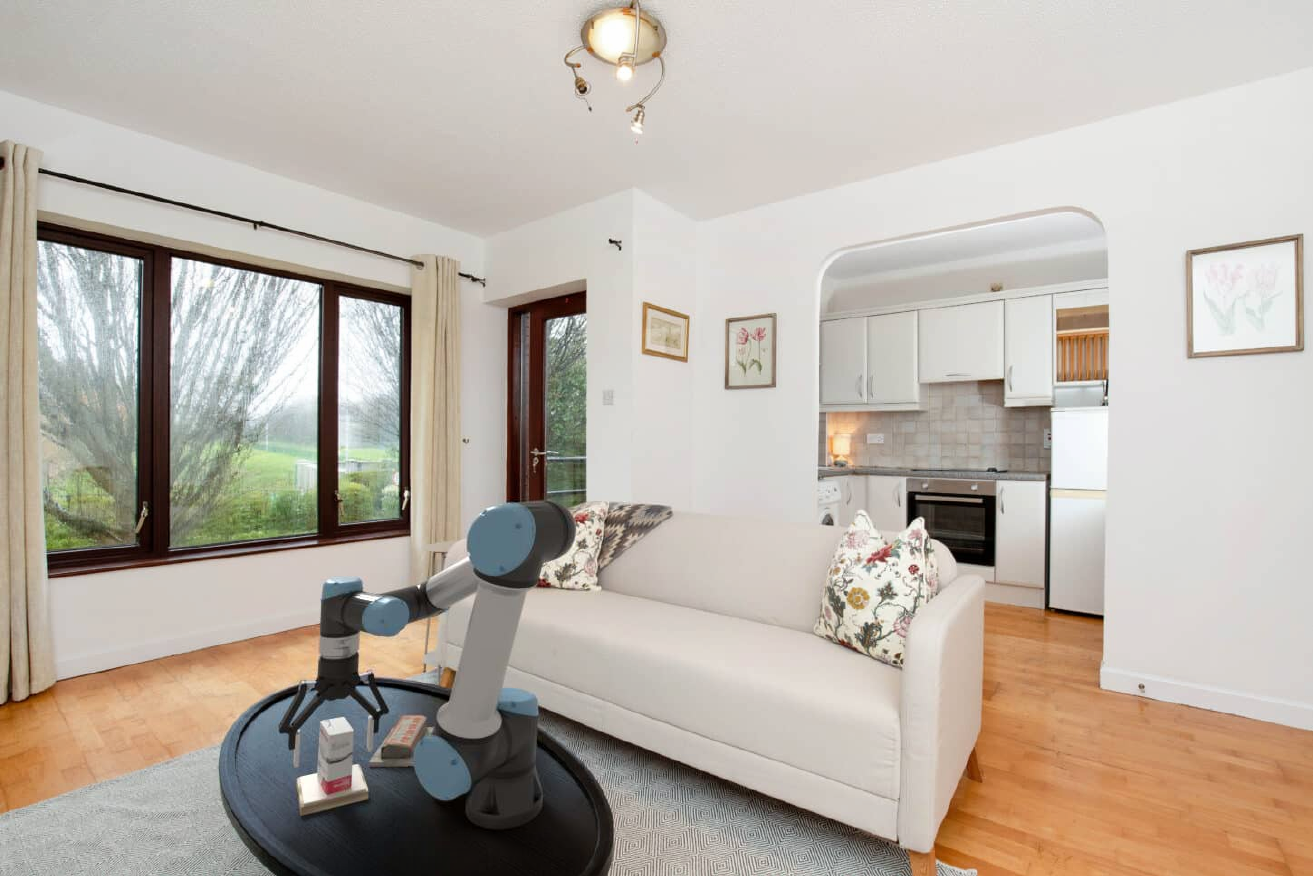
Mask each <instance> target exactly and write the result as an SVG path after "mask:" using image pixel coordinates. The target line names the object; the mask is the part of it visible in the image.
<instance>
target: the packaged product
mask: <svg viewBox="0 0 1313 876" xmlns="http://www.w3.org/2000/svg"><path fill="white" fill-rule="evenodd" d="M427 724H428V718H427V716H425V715H422V714H416V715H415V714H409V715H407V714H406V715H402V716H401V717H400V718H399V720H398V721H397V723H396V724H395V725H394V726H393V727H392V728H391V730H390V732H388V734H387V736H385V738H384V740H383V741H382V743H381V744H380V746H378V749H377V750H376V751H375V753H373V755H372V757H371V758H370V759H369V761H368V763H369V767H371V768H372V767H373V768H375V767H376V768H377V767H378V768H380V767H381V768H385V767H387V768H389V767H390V768H392V767H393V768H394V767H408V766H411V767H414V762H413V755H414V750H415V747H416V745H417V743H418V742H419V741H420V740H421V739H422V738H423V737H424V736H426V735H430V734H431V733H432V731H433V728H434V726H431V727H430V726H429V727H427ZM408 768H409V767H408Z"/></svg>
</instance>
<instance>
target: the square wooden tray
mask: <svg viewBox="0 0 1313 876" xmlns="http://www.w3.org/2000/svg"><path fill="white" fill-rule="evenodd" d="M363 773H364V772H363V770H362V767H361V764H360V763H359V764H358V763H356V764H352V786H351V788H347V789H344V790H341V791H338V792H335V793H331V794H328V795H327V794H326V793H325V791H324V789H323V787H322V785H321V784H320V782H319V780H318V778H317V772H315V773H311V774H307V775H302V776H300V777H297V778H296V792H297V800H298V806H299V813H300V814H299V815H300V817H302V816H305V815H309V814H314V813H318V812H322V811H326V810H330V809H334V808H337V807H341V806H344V805H345V806H346V805H349V804H353V803H356V802H357V803H358V802H360V801H361V802H362V801H365V800H369V792H370V791H369V788H368V785H367V782H366V779H365V776H364V774H363Z"/></svg>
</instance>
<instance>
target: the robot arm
mask: <svg viewBox="0 0 1313 876" xmlns="http://www.w3.org/2000/svg"><path fill="white" fill-rule="evenodd" d="M576 535H577V525H576V521H575V518H574V516H573V514H572V512H571V511H570V510H569V509H568V508H567V507H566V506H564V505H563V504H562V503H560V502H558V501H555V500H550V499H538V500H533V501H522V502H515V501H514V502H505V503H500V504H498V505H494V506H493V505H492V506H490V507H487V508H486V509H484V510H483V511H482V512H480V513H479V514H478V515H477V516H476V517H475V519H474V520H473V521H472V523H471V525H470V527H469V530H468V532H467V537H466V551H467V553H469V556H466V557H465V558H463V559H462V560H460V561H458V562H456V563H454V564H452V565H451V566H449V567H447V568H444V569H443V570H442V571H439V572H438V573H437V574H434V575H433V576H431V577H429V578H428V579H426V580H424V581H422V582H421V583H418V584H415V585H411V586H407V587H403V588H399V589H394V590H390V591H386V592H382V593H374V592H373V593H371V592H367V591H363V590H364V585H363V584H364V583H363V580H362V579H361V578H359V577H357V576H338V577H332V578H329V579H327V580H325V581H324V583H323V585H322V592H321V598H320V617H319V618H320V621H319V641H318V654H319V656H318V659H317V660H318V661H317V676H316V679H315V680H311V681H307V680H306V679H301V680H300V681H299V685H298V689H297V693H296V694H295V696H294V698H293V700H292V701H291V702H290V705H289V706H288V708H287V710H286V712H285V713H284V715H283V717H282V719H281V720H280V722H279V724H278V733H280V734H287V735H288V736H287V749H288V751H293V768H299V766H300V765H299V764H300V749H301V748H300V747H301V731H300V729H301V728H302V727H303V725H304V724H305V722H307V721H308V720H309V718H310V717H311V716H312V715H313V714H314V712H315V711H316V710H317V709H318V708H319V707H320V706H322V704H323V703H324V702H325V701H328V702H333V701H336V700H346V698H348V697H351V698H352V699H353V700H355V701H356V702H357V703H358V704H359V705H360V706H361V707H362V708H363V709H364V710H365V711H366V712H367V713H368V714H369V715H367V726H366V727H367V730H366V734H367V735H366V749H367V751H368V752H373V750H374V749H373V745H374V734H377V733H378V732H379V730H380V729H379V727H380V719H381V716H383V715H388V714H389V712H390V709H389V707H388V705H387V703H386V701H385V700H384V698H383V696H382V694H381V692H380V690H379V688H378V686H377V685H376V680H375V679H376V678H375V673H374V672H373V670H372V669H368V670H367V671H366V672H363V673H359V665H360V664H359V663H360V661H359V659H360V658H359V657H360V653H359V650H360V643H361V642H360V639H361V638H360V636H361V632H363V633H366V634H370V635H373V636H374V637H375V636H377V637H386V638H390V637H395V636H397V635H398V634H399V633H400V632H401V631H402V630H404V629H405V627H406V626H407V625H409V624H413V623H415V622H418V621H422V620H425V619H428V618H434V617H437V616H440V615H441V614H445V613H446V612H447V611H449V610H450V608H452V606H454V605H456V604H457V603H459V602H461V601H463V600H465V599H467V598H469V597H471V596H472V595H474V594H475V597H474V601H473V605H472V610H471V612H470V617H469V621H468V624H467V628H466V632H465V637H464V641H463V646H462V650H461V653H460V656H459V661H458V663H457V669H456V673H455V677H454V681H453V684H452V689H451V693H450V695H449V696H450V697H449V700H448V702H445V703H444V704H442V705H441V706H440V707H439V709H438V711H437V713H436V718H435V721H434V724H433V727H434V728H433V731H432V733H431V734H430V735H426V736H424V737H423V738H422V739H421V740H420V741H419V742H418V743H417V745H416V747H415V750H414V755H413V762H414V766H413V767H414V771H415V775H416V776H417V778H418V781H419V783H420V784H421V786H422V788H424V790H425V791H426V792H427V793H428V794H430V796H431V795H432V796H434V797H435V798H437V799H440V800H451V799H454V798H456V797H458V796H460V795H461V794H462V795H465V794H466V793H467V795H466V798H465V799H466V800H465V815H466V817H467V819H468V821H469V822H471V823H473V824H474V825H476V826H477V827H480V828H483V829H484V828H485V829H488V830H506V829H508V830H509V829H513V828H516V827H519V826H522V825H525V824H527V823H529V822H531V821H532V820H534V818H536V817H537V816H538V815H539V813H540V812H541V811H542V809H543V808H542V807H543V800H544V799H543V797H544V796H543V795H544V794H543V789H542V786H541V783H540V778H539V774H538V772H537V768H536V766H537V765H536V762H537V760H536V759H537V746H538V745H537V740H538V738H537V737H538V725H539V724H538V722H539V715H540V713H539V700H538V698H537V697H536V695H535V694H534V693H532V692H530V691H528V690H525V689H522V688H518V687H517V688H514V687H503V686H504V681H505V677H506V674H507V670H508V666H509V662H510V659H511V658H510V657H511V654H512V651H513V648H514V647H513V646H514V643H515V639H516V636H517V631H518V627H519V623H520V620H521V616H522V612H523V609H524V604H525V600H526V596H527V593H528V592H529V591H530V590H532V589H534V588H536V587H537V585H538V583H539V579H540V576H541V574H542V573H541V572H542V569H543V565H544V564H545V563H548V562H552V561H555V560H558V559H559V558H561V557H563V556H564V555H566V554H567V553H568V552H569V550H570V549H571V548H572V547H573V544H574V542H575V539H576ZM361 681H362V682H363V683H364V684H365V685H366V684H367V685H368V687H369V689H370V691H371V693H372V695H373V696H374V698H375V700H376V702H377V704H378V706H379V707H376V706H374V705H373V703H371V702H370V701H369V700H368V699H367V698H366V696H364V695H363V694H362V693H361V692H360V691H359V690H358V689H357V688H356V687H357V686H358V684H359V683H360V682H361ZM312 689H315V690H316V691H317V692H316V693H315V694H314V696H313V698H312V699H311V700H310V702H308V704H307V705H306V706H305V707H304V708H303V710H302V711H301V712H300V713H299V714H298V715H297V717H295V716H296V714H297V712H298V710H299V708H300V706H302V703H303V702H304V700H305V697H306V694H309V693H310V692H311V690H312ZM294 717H295V719H294ZM292 720H293V721H292ZM432 796H431V797H432ZM540 810H541V811H540Z"/></svg>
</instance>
